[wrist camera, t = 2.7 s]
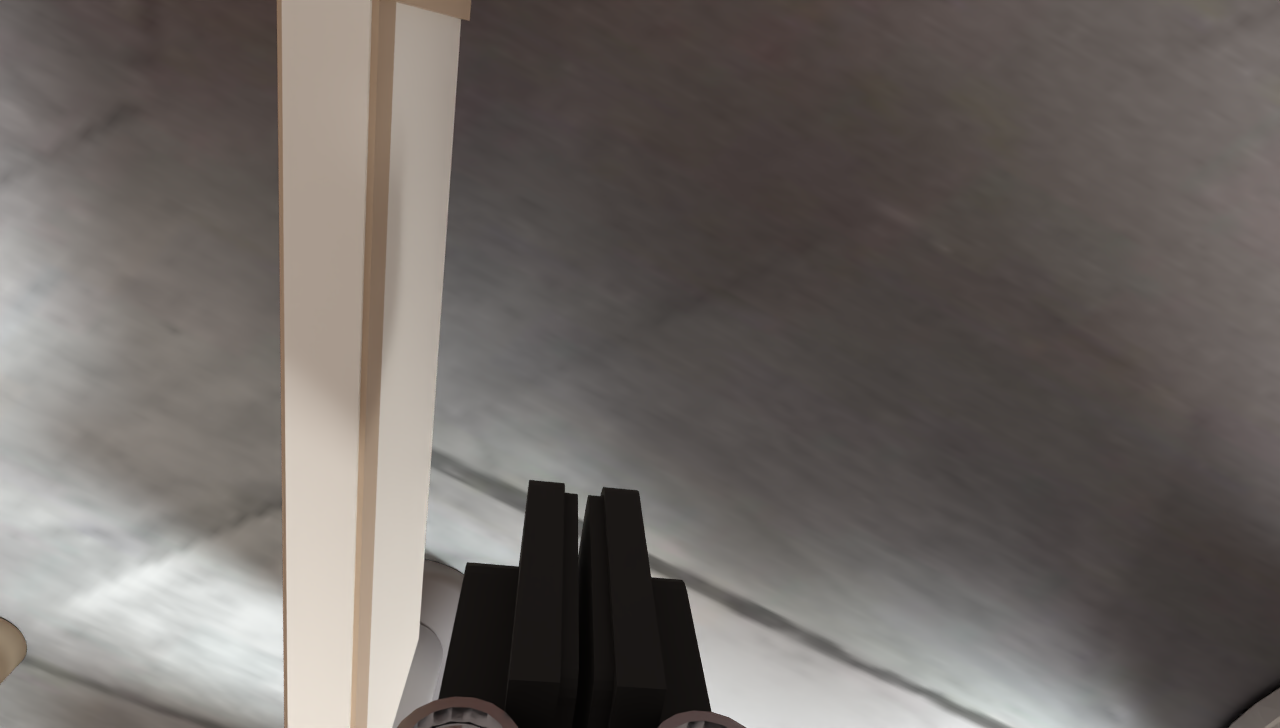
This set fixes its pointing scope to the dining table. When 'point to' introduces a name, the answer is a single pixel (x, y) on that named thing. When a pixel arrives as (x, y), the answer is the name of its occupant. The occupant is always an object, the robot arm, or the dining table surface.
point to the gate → (360, 345)
